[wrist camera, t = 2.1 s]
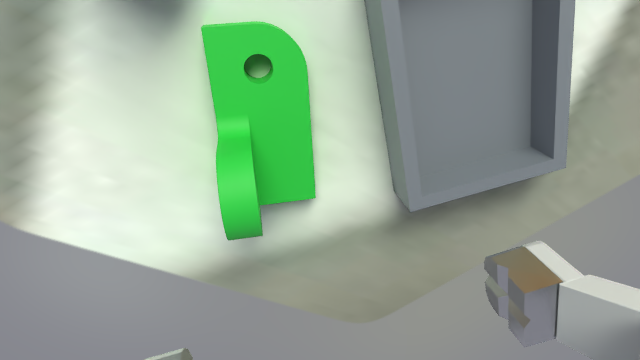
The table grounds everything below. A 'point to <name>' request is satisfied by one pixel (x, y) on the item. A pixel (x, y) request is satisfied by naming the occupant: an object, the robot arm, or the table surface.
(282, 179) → the mechanical part
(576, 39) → the table surface
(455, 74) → the tray
